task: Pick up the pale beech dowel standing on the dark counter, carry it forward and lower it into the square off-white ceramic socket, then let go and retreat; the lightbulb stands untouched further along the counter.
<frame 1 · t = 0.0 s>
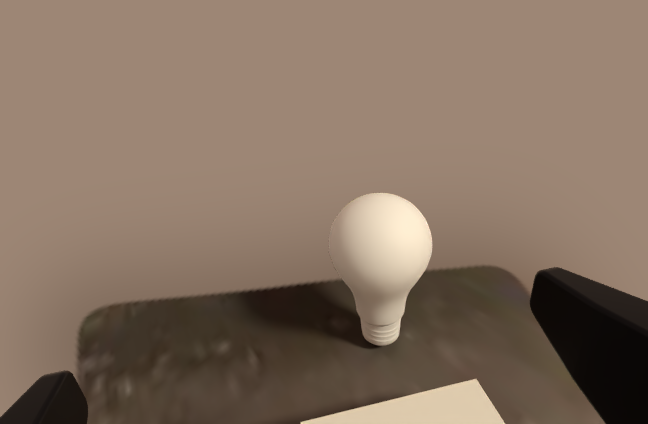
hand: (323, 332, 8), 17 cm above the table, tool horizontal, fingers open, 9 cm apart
lightbulb: (380, 341, 30), on the table
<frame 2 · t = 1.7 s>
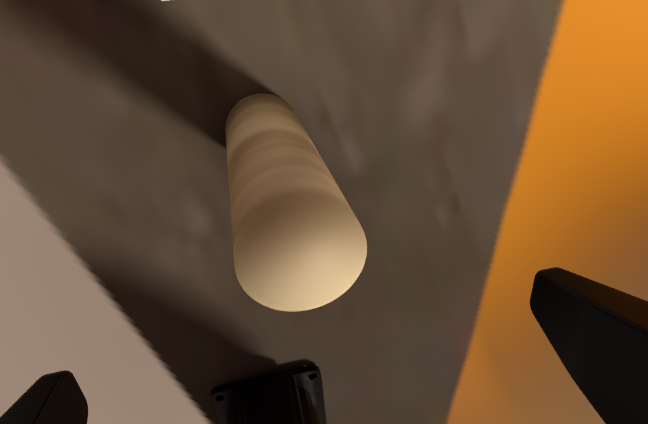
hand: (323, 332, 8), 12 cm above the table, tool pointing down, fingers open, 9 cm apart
dowel: (262, 130, 19), on the table
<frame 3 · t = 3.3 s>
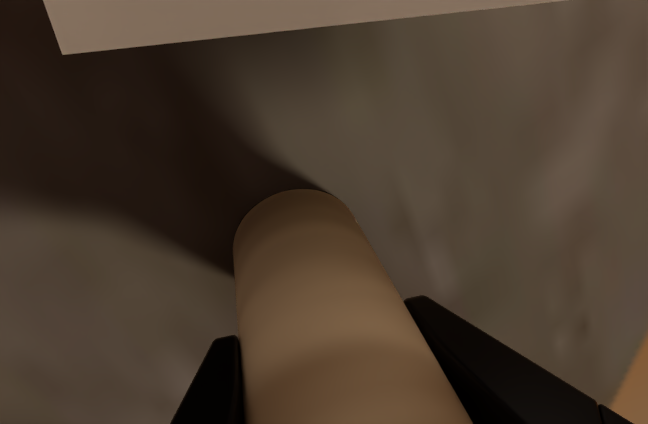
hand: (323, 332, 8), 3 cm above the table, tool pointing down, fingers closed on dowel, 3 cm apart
dowel: (297, 246, 11), on the table, touching gripper
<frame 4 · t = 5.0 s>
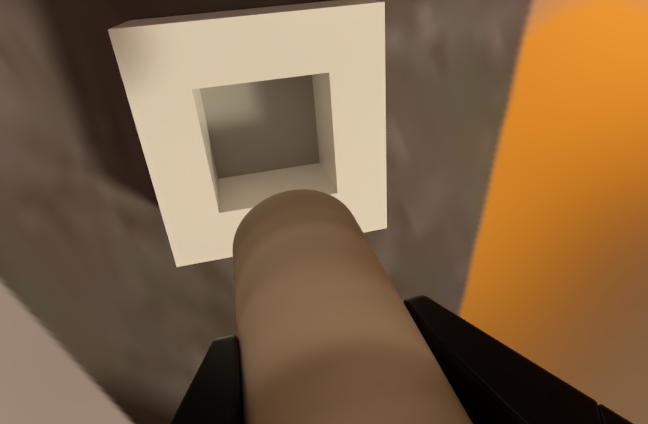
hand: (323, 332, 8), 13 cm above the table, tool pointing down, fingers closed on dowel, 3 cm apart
socket: (261, 117, 20), on the table
dowel: (297, 247, 11), point 10 cm above the table, touching gripper
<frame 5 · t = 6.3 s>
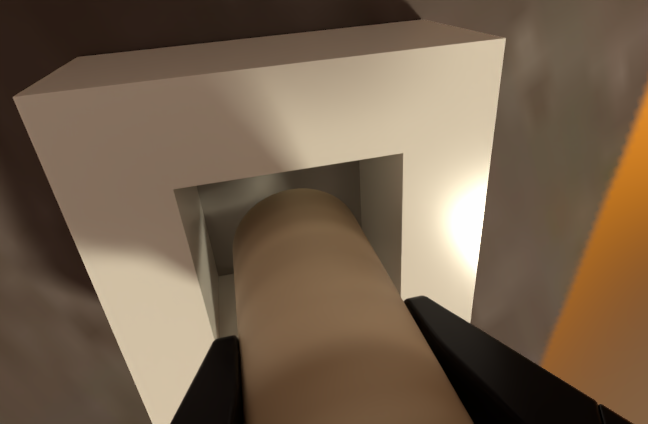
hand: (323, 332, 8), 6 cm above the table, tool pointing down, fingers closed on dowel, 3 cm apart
socket: (281, 190, 14), on the table
dowel: (297, 246, 11), point 3 cm above the table, touching gripper
when the fingers open (5 cm above the table, at t = 6.8 s): dowel drops 1 cm, resting on socket.
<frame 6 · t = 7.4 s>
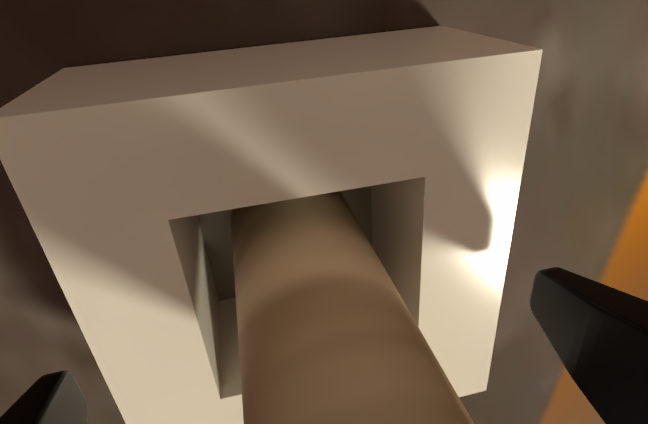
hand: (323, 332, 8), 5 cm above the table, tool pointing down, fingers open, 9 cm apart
socket: (286, 209, 13), on the table
dowel: (289, 217, 12), resting on socket
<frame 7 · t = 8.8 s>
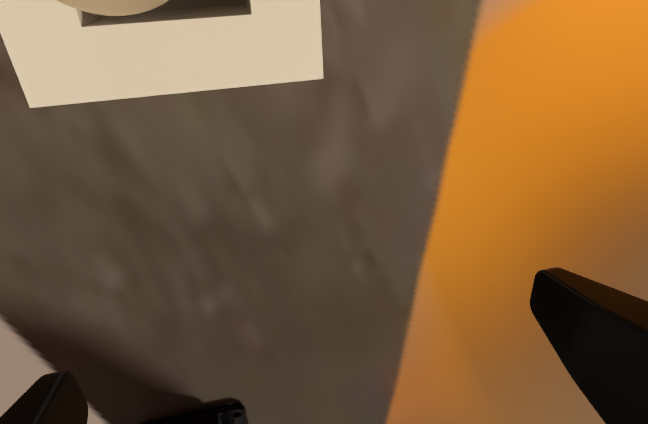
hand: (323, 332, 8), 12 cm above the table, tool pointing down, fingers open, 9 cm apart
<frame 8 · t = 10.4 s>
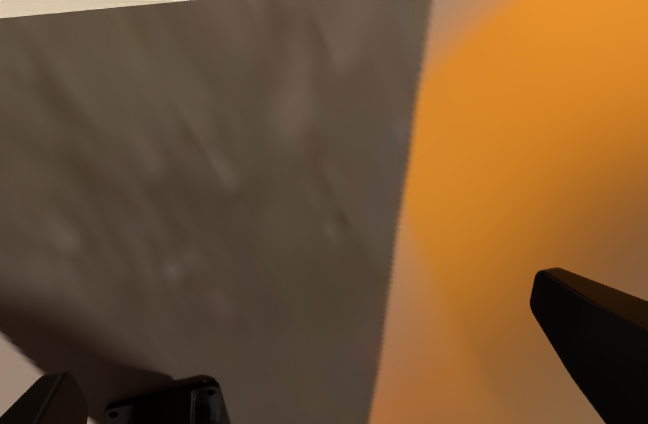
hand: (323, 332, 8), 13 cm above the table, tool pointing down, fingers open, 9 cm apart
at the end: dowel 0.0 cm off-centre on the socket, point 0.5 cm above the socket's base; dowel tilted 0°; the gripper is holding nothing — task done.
